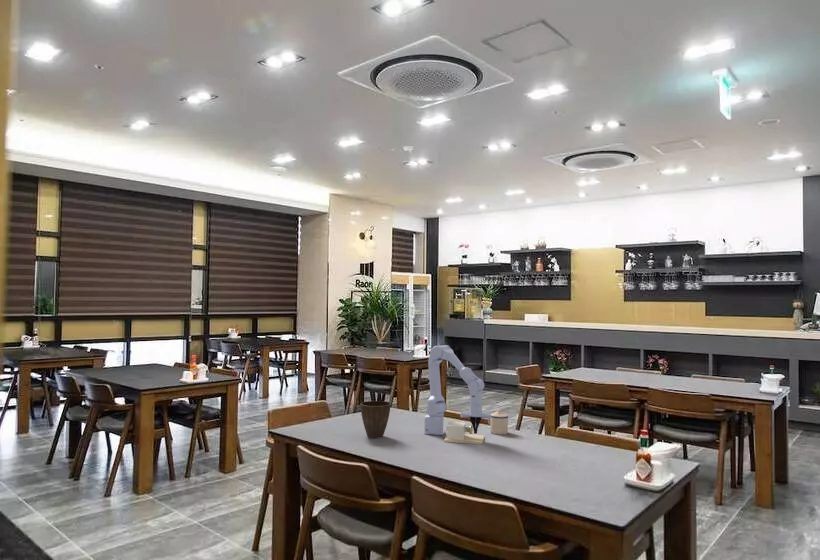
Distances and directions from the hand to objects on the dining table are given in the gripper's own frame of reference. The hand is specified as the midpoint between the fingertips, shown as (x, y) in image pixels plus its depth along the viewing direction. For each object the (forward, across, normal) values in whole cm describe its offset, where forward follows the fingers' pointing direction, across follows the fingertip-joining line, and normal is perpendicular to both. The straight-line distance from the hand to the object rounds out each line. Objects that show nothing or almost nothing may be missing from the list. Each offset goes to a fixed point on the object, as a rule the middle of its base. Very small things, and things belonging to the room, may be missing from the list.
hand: (475, 433), depth 274 cm
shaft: (0, -8, 0) cm, 8 cm away
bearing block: (+3, -5, 0) cm, 6 cm away
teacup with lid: (+4, +10, +20) cm, 23 cm away
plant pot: (+4, -48, -5) cm, 49 cm away
